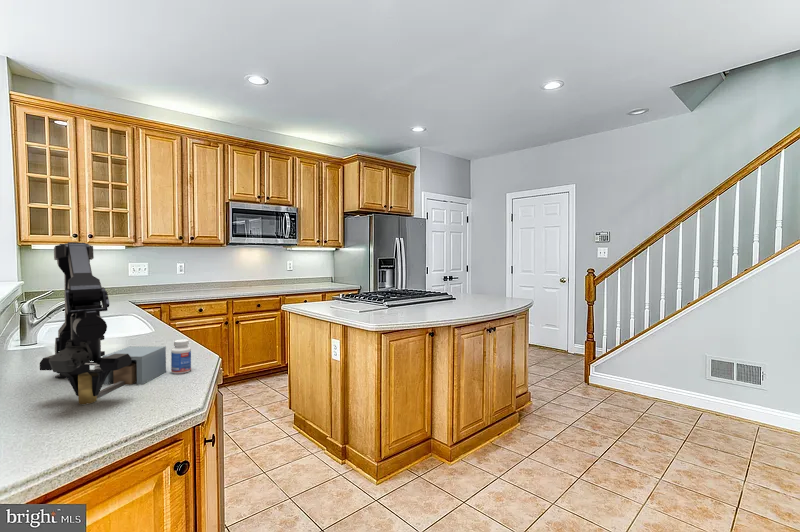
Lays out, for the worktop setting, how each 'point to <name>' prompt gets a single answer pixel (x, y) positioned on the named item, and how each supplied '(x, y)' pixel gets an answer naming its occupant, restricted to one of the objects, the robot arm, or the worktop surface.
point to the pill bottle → (181, 357)
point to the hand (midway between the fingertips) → (87, 395)
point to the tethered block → (120, 377)
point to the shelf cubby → (143, 362)
